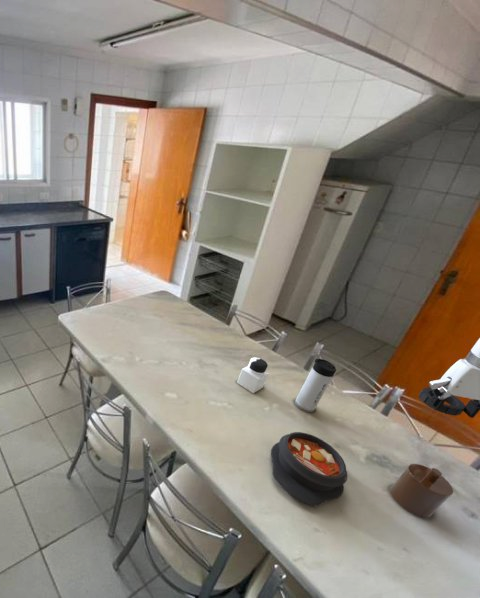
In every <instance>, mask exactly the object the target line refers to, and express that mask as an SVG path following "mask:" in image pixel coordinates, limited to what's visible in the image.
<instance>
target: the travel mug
mask: <svg viewBox="0 0 480 598" xmlns="http://www.w3.org/2000/svg"><path fill="white" fill-rule="evenodd" d="M336 372H337V369H336V366H335V365H334V364H333V363H331V362H330V361H328V360H326V359H323V358H315V359H314V364H313V366H311V369H310V371H309V372H308V375H307V377H306V379H305V381H304V383H303V384H302V386H301V389H300V390H299V393H298V395H297V397H296V398H295V400H294V404H295V405H296V407H297V408H298V409H300V410H301V411H303V412H307V413H313V412H315V410H316V408H317V406H318V404H319V403H320V401H321V399H322V397H323V395H324V394H325V392H326V390H327V388H328V386H329V385H330V383H331V381H332V379H333V378H334V375H335V373H336Z"/></svg>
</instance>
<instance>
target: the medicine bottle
mask: <svg viewBox="0 0 480 598" xmlns="http://www.w3.org/2000/svg"><path fill="white" fill-rule="evenodd" d="M268 367H269V365H268V363H267V361H266V360H264V359H262V358H260V357H251V358H250V359H249V363H248V365H247V366H245V367H243V368H242V369H241V371H240V374H239V376H238V379H237V381H236V383H237V384H238V385H240V386H241V387H242V388H244V389H246V390H247V391H249V392H250V393H252V394H255V393H257V392H258V391H259V390H261V389H263V388H264V386H265V383H266V381H267V379H268V377H269V375H270V373H269V372H267V368H268Z"/></svg>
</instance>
